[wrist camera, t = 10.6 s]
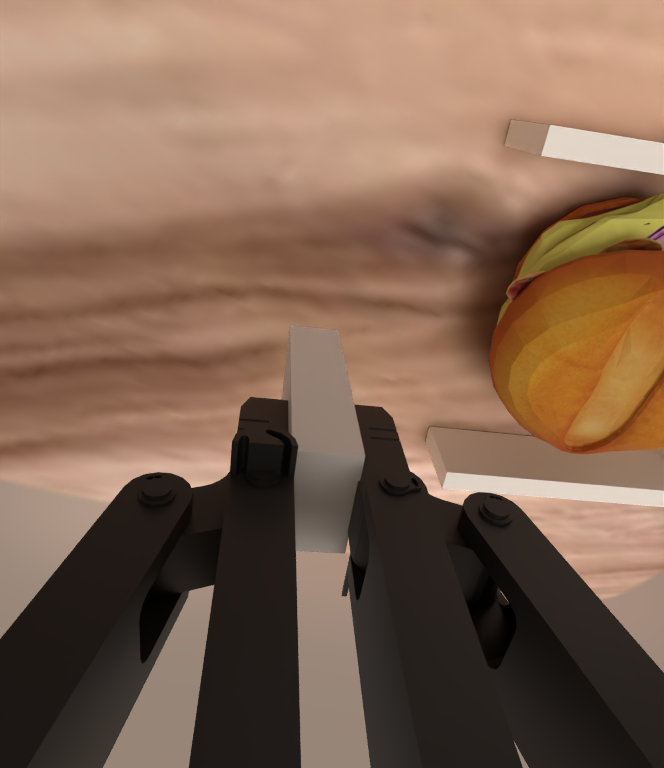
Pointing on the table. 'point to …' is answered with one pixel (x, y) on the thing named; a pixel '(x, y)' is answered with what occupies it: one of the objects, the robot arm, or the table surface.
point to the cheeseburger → (588, 331)
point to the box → (527, 453)
